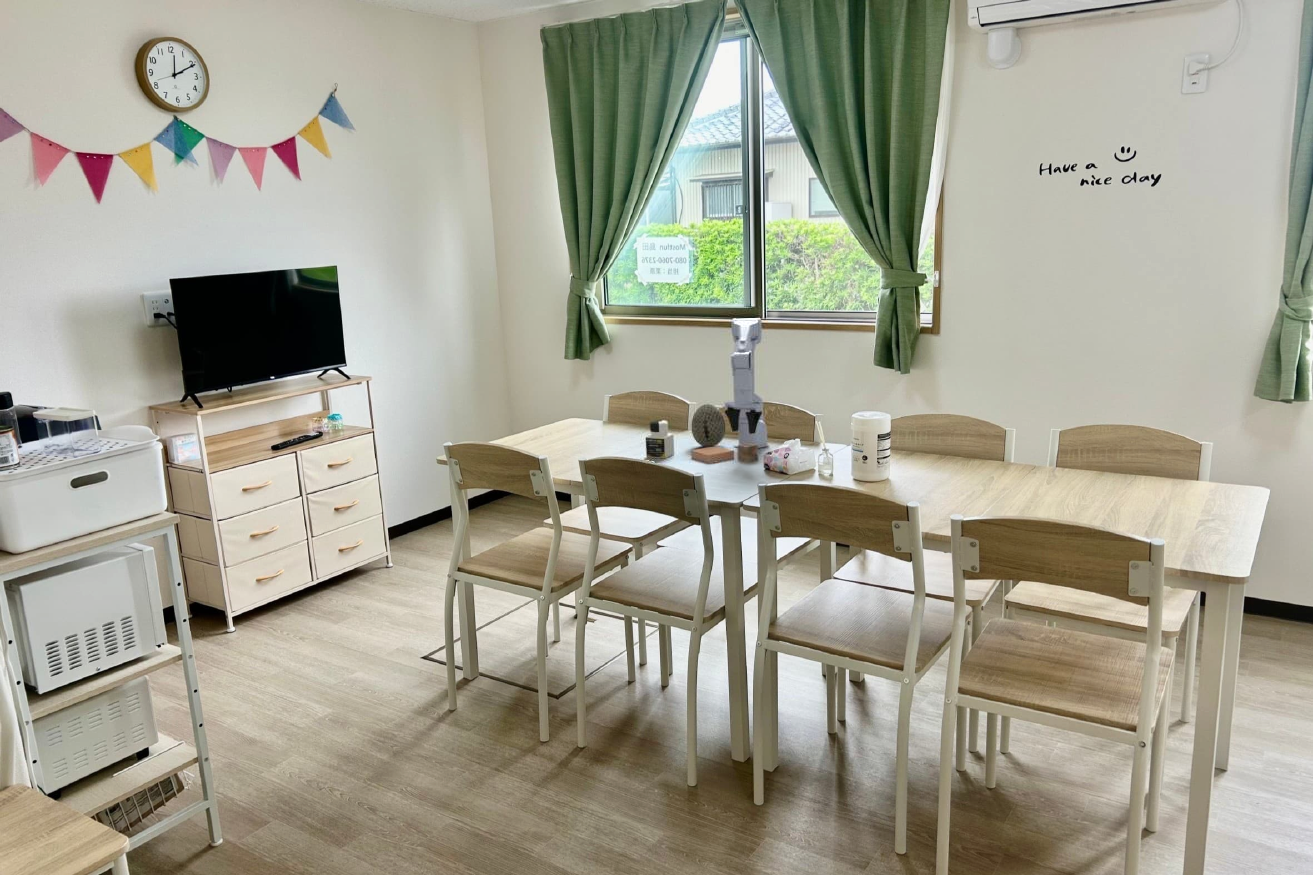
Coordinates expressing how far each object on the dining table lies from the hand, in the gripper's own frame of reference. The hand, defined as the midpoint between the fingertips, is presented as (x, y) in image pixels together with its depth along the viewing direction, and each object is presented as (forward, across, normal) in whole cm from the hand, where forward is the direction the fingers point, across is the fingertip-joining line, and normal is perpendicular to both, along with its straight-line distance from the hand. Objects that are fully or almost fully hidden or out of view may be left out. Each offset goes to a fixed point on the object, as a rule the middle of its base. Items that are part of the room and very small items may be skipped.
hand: (743, 432), depth 307 cm
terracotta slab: (+10, -12, -2) cm, 16 cm away
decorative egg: (+9, -26, +9) cm, 29 cm away
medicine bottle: (+10, -29, -11) cm, 32 cm away
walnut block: (+10, -1, +3) cm, 10 cm away
